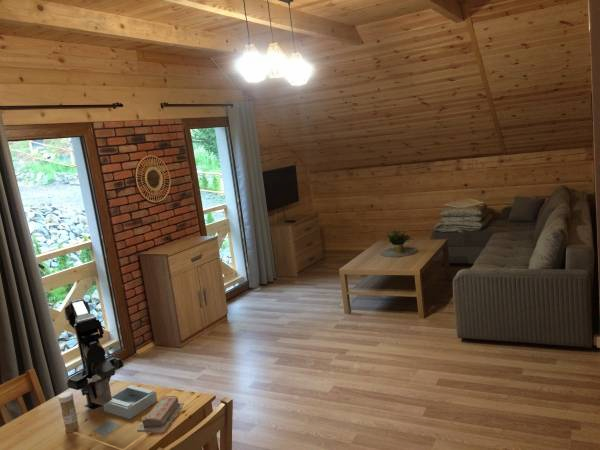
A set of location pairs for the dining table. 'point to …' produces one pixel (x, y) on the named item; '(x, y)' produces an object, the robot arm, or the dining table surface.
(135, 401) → the grey open tray
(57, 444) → the dining table surface
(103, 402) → the block
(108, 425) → the coaster
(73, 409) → the sprinkles bottle
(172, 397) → the packaged product
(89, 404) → the robot arm
